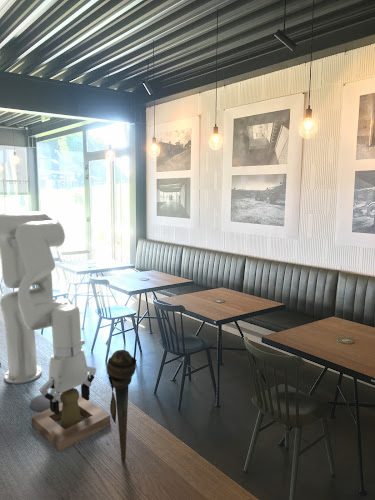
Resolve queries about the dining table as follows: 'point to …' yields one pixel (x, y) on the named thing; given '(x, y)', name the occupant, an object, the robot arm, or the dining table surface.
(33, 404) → the coaster
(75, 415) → the cork
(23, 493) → the dining table surface
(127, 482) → the dining table surface
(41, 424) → the square frame
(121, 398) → the decorative torch
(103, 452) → the dining table surface
